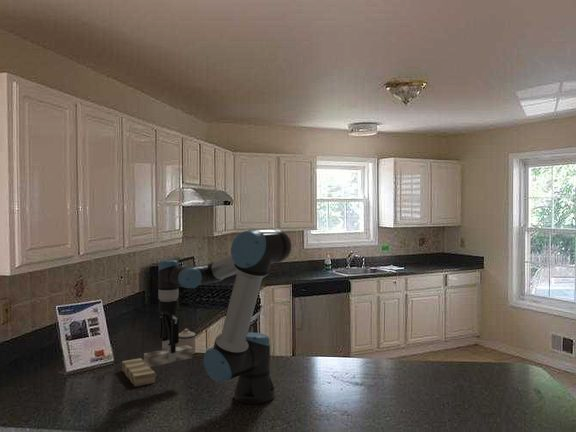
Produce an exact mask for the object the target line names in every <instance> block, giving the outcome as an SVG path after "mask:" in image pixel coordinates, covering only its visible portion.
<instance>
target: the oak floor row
mask: <svg viewBox="0 0 576 432" xmlns="http://www.w3.org/2000/svg"><path fill="white" fill-rule="evenodd" d="M121 365H122V366H121V367H122V368H121V371H122V372H123V373H124V375H125V376H126V377H127V379H128V380H129V381H130V383H131V384H133V386H134V387H139V386H140V387H141V386H146V385H149V384H155V383H156V379H157V378H158V375H157V374H156V372H155V371H154V369H152V367H148V366H146V365H145V364H144V359H142V358H141V357H139V358H134V359H133V358H132V359H128V360H122V362H121Z"/></svg>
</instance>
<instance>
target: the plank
mask: <svg viewBox="0 0 576 432" xmlns="http://www.w3.org/2000/svg"><path fill="white" fill-rule="evenodd" d="M193 357H194V354H193V348H192V347H190V346H188V345H184V346H179V347H176V361H171V362H169V361H168V349H164V350H162V349H160V350H155V351H150V352H145V353H143V361H144V364H145V365H146V366H148V367H150V368H153V367H157V366H163V365H167V364H170V363H175V362H179V361H185V360H189V359H193Z"/></svg>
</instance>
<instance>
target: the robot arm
mask: <svg viewBox="0 0 576 432" xmlns="http://www.w3.org/2000/svg"><path fill="white" fill-rule="evenodd" d="M291 251H292V241H291V238H290V237H289V235H288V234H287V233H286V232H284V231H283V230H280V229H277V228H272V229H271V228H270V229H248V230H244V231H241V232H240V233H239V234H237V235H236V236H235V238H234V239H233V241H232V243H231V247H230V254H229V255H227V256H225V257H222V258H220V259H217V260H215V261H212V262H210V263H207V264H202V265H201V264H200V265H193V266H191V265H190V266H179V261H178V260H177V259H163V260H160V261H159V263H158V271H157V272H158V273H157V274H158V294H157V295H158V300H159V301H158V310H159V311H160V313H158V319H159V325H158V326H159V335H158V336H159V339H161V342H162V346H161V348H162V349H161V350H164V349H168V361H169V362H171V361H176V344H177V343H179V333H180V332H179V328H180V327H179V324H180V318H179V317H176V311H177V310H179V305H180V304H179V293H180V290H179V287H180V288H186V289H195V288H197V287H198V286H202V285H205V284H213V283H214V284H215V283H216V284H217V283H220V282H222V281H223V280H224V279H226V278H228V277H231V276H235V275H236V276H235V279H234V283H233V287H232V291H231V294H230V299H229V302H228V308H227V310H226V315H225V319H224V322H223V327H222V330H221V333H219V334H218V335H216V337H215V340H214V344H213V347H210V348H208V349H207V350H206V351H205V352H204V354H203V355H204V356H203V366H204V368H205V371H206V373H207V375H208V376H209V377H210V378H211V379H212V380H213V381H214V382H217V383H224V382H229V381H230V380H232V379H234V378H237V379H236V382H235V383H236V384H235V386H234V390H233V399H234V400H235V401H236V402H238V403H240V404H246V405H260V404H265V403H267V402H271V401H273V399H275V396H276V393H275V392H276V388H275V385H274V383H273V380H272V376H271V343H270V337H269V336H268V335H267V334H265V333H262V332H261V333H260V332H252V331H251V332H250V331H249V329H250V326H251V322H252V318H253V316H254V315H253V314H254V310H255V308H256V303H257V300H258V295H259V293H260V288H261V285H262V280H263V279H264V278H265V277H266V276H267V277H268V275H269V273H270V269H271V265H272V264H277V263H281V262H283V261H285V260H286V259H287V258H288V257H289V256H290V254H291ZM176 362H177V361H176ZM171 363H172V362H171Z"/></svg>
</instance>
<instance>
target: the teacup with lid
mask: <svg viewBox="0 0 576 432" xmlns="http://www.w3.org/2000/svg"><path fill="white" fill-rule="evenodd" d="M196 336H197V335H196V333H195V332H192V331H190V330H189V329H188V328H185V329H184V330H182V331H181V332H179V343H177V344H176V347H179V346H184V345H188V346H190V347H192V348H193V355H194V354H195V353H196Z"/></svg>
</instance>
